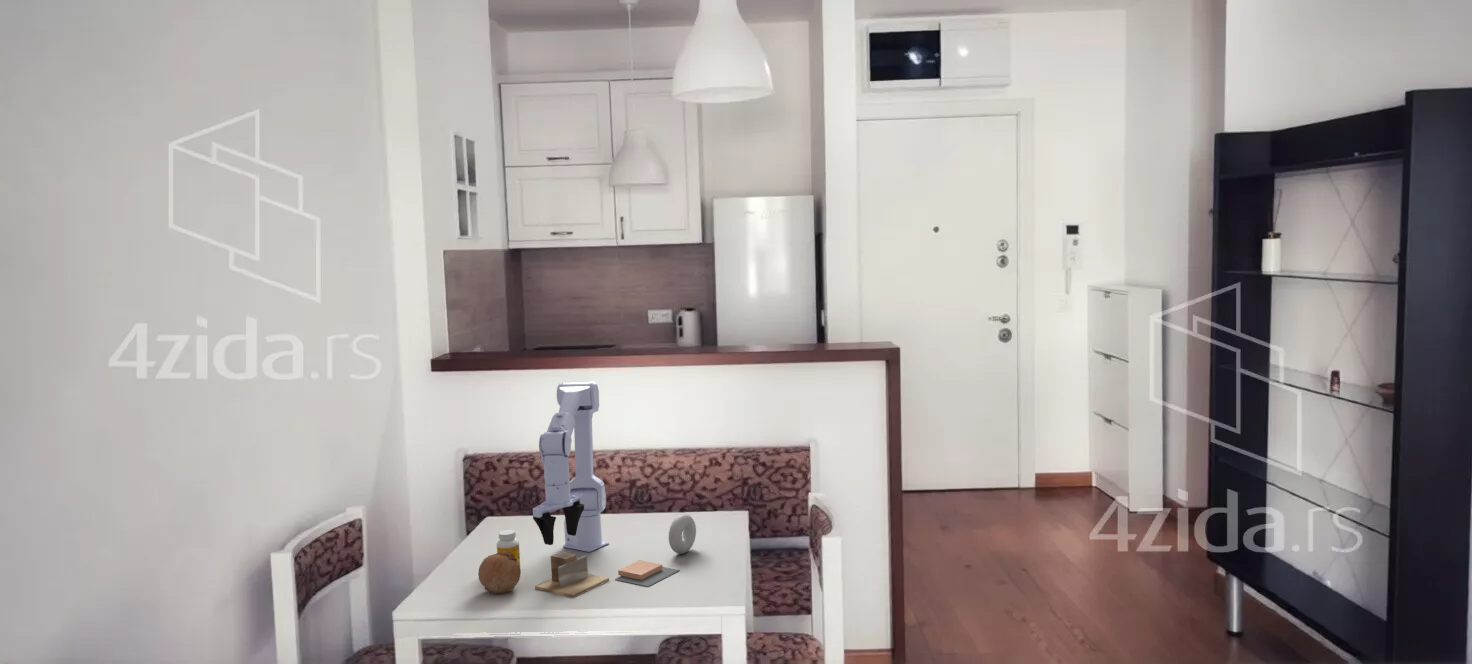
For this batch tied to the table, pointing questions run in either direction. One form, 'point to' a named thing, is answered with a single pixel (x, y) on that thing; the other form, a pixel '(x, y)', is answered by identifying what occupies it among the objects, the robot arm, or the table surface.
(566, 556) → the brown grey t-shaped block
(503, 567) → the onion
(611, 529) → the table surface
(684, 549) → the donut
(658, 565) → the tile
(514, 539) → the supplement bottle
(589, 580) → the oak board
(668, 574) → the slate mat
